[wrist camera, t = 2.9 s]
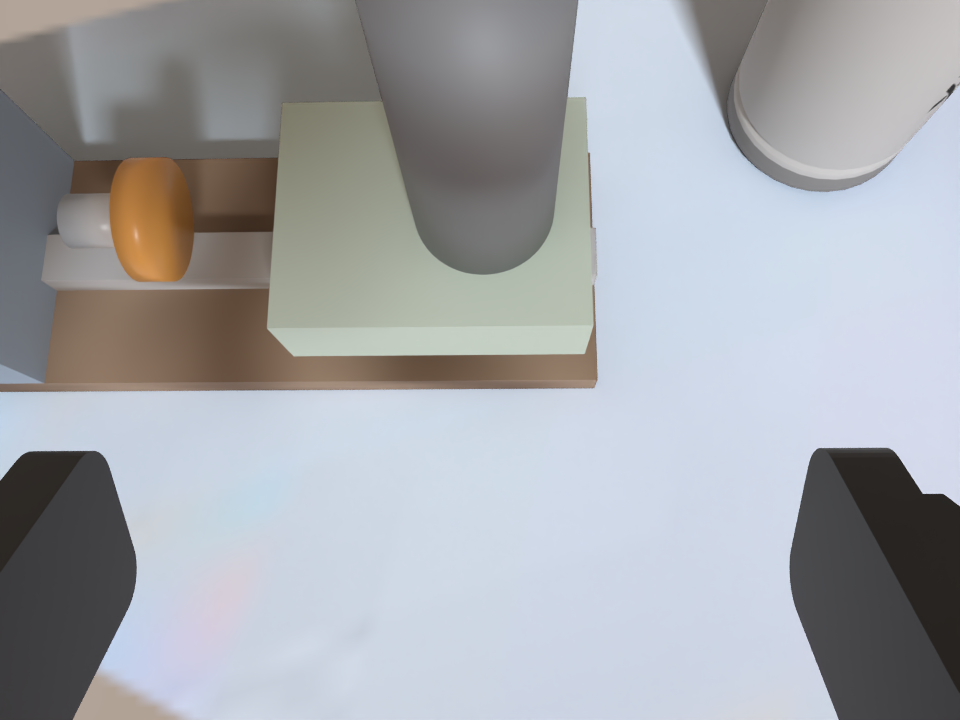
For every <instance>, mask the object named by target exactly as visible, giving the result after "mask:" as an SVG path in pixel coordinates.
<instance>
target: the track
mask: <svg viewBox="0 0 960 720" xmlns="http://www.w3.org/2000/svg"><path fill="white" fill-rule="evenodd" d="M123 161H124V160H112V161H74V167H73V175H72V182H71V190H70V194H93V193H110V192H111V186H112V182H113V178H114V175H115V172H116V170H117V168H118V167H119V165H120V164H121V163H122V162H123ZM173 161H174V162H175V163H176V164H177V165H178V167H179V168H180V170H181V172H182V173H183V176H184V178H185V180H186V183H187V186H188V190H189V193H190V198H191V203H192V210H193V220H194V241H193V250H192V256H191V260H190V264H189V266H188V269H187V271H186V273H185V274H184V276H183V277H182V278H181V279H180V280H178V281H175V282H138V281H135V280H133V279H132V278H131V277H130V276H129V275H128V274H127V273H126V272H125V270H124V269H123V267H122V265H121V263H120V261H119V259H118V256H117V253H116V250H115V248H94V249H71V248H69V247H67V246H66V245H65V243H64V242H63V240H62V238H61V236H60V235H47V242H46V250H45V257H44V264H43V271H42V278H41V281H43V282H44V283H46V284H47V285H49V286H50V287H52V288H54V289H55V290H57V294H56V301H55V309H54V316H53V324H52V331H51V339H50V346H49V353H48V361H47V368H46V376H45V383H24V384H0V392H49V391H210V390H370V389H531V388H594V387H595V385H596V382H597V351H596V321H595V292H594V284H595V281H596V277H597V255H596V228H592V203H591V174H590V153H588V172H589V202H590V232H591V262H592V292H593V322H594V326H593V329H592V332H591V335H590V339H589V342H588V345H587V348H586V351H585V354H534V355H403V356H293V355H292V354H291V353H290V352H289V351H288V350H287V349H286V348H285V347H284V346H283V345H282V344H281V343H280V342H279V341H278V339H277V338H276V337H275V336H274V335H273V334H272V333H271V332H270V331H269V330H268V329H267V319H268V304H269V289H270V274H271V260H272V245H273V230H274V215H275V201H276V186H277V171H278V158H238V159H175V160H173Z"/></svg>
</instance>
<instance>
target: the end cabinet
mask: <svg viewBox="0 0 960 720" xmlns="http://www.w3.org/2000/svg"><path fill="white" fill-rule="evenodd" d="M73 167H74V160H73V159H72V158H71V157H70V156H69V155H68V154H67V153H65V152H64V151H63V150H62V149H61V148H60V147H59V146H58V145H57V144H56V143H55V142H54V141H53V140H52V139H51V138H50V137H49V136H48V135H47V134H46V133H45V132H44V131H43V130H42V129H41V128H40V127H39V126H38V125H37V124H36V123H35V122H34V121H33V120H32V119H31V118H29V117H28V116H27V115H26V114H25V113H24V112H23V111H22V110H21V109H20V108H19V107H18V106H17V105H16V104H15V103H14V102H13V101H12V100H11V99H10V98H9V97H8V96H7V95H6V94H5V93H4V92H3V91H2V90H1V89H0V384H24V383H45V376H46V368H47V361H48V353H49V346H50V339H51V331H52V324H53V316H54V309H55V301H56V294H57V290H55V289H54V288H52V287H50V286H49V285H47V284H46V283H44V282H43V281H41V278H42V271H43V264H44V257H45V250H46V242H47V235H60V233H59V230H58V225H57V208H58V204H59V201H60V199H61V198H62V197H63V196H64V195H65V194H70V190H71V182H72V175H73Z"/></svg>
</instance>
